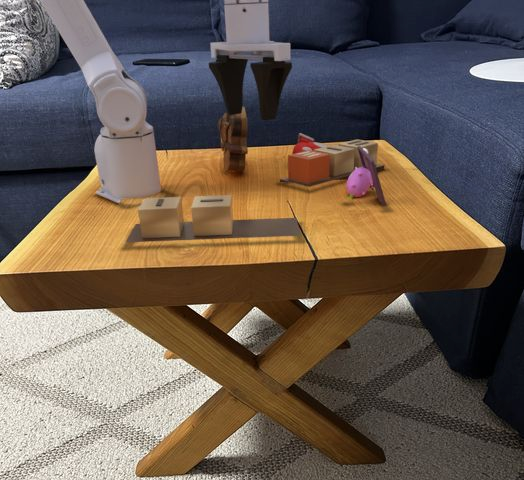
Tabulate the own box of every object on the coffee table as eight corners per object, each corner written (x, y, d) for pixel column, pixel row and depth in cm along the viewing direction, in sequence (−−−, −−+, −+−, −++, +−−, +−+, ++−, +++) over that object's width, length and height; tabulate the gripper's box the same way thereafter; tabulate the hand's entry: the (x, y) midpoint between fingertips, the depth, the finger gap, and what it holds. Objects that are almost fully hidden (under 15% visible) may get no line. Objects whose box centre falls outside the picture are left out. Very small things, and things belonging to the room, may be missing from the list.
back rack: (309, 192, 81) (309, 161, 79) (279, 184, 85) (278, 155, 83) (384, 170, 90) (386, 142, 88) (354, 163, 94) (355, 137, 92)
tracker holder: (357, 155, 94) (320, 151, 87) (347, 181, 96) (310, 178, 89) (307, 130, 100) (269, 124, 93) (299, 154, 103) (261, 150, 96)
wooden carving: (213, 161, 100) (208, 100, 94) (238, 159, 100) (234, 98, 95) (229, 184, 86) (225, 115, 81) (258, 181, 87) (255, 112, 81)
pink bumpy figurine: (379, 158, 68) (364, 143, 76) (339, 174, 69) (328, 158, 77) (393, 208, 72) (377, 189, 80) (354, 223, 73) (343, 202, 80)
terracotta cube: (308, 183, 81) (308, 158, 80) (288, 178, 84) (287, 154, 83) (329, 177, 84) (329, 153, 82) (308, 172, 87) (308, 149, 85)
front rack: (126, 248, 64) (119, 212, 62) (136, 229, 69) (130, 195, 67) (300, 242, 64) (300, 204, 62) (296, 223, 69) (296, 188, 67)
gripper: (307, 1, 69) (307, 117, 77) (236, 5, 79) (241, 108, 86) (265, 2, 66) (268, 125, 73) (194, 6, 75) (204, 114, 82)
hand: (251, 116), depth 79 cm, fingers open, 7 cm apart
